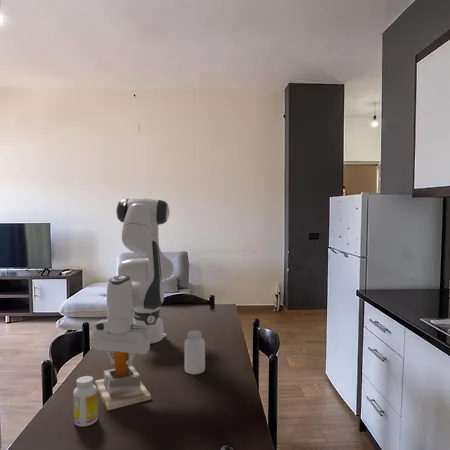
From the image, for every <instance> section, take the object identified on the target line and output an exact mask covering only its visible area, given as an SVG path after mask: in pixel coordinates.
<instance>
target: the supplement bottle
mask: <svg viewBox="0 0 450 450" xmlns="http://www.w3.org/2000/svg"><path fill="white" fill-rule="evenodd" d="M75 382H76V384H75V385H76V387H75V388H74V389H73V392H72V394H73V395H72V398H73V400H72V401H73V422H74V424H75V426H77V427H89V426H91V425H93V424H95V423H96V422H97V420H98V417H99V413H98V389H97V387H96V385H95V384H94V377H93V376H91V375H85V376H80V377H78V378H77V379H76V381H75Z"/></svg>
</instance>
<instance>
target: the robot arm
mask: <svg viewBox="0 0 450 450" xmlns="http://www.w3.org/2000/svg"><path fill="white" fill-rule="evenodd" d="M115 212H116V217H117V219H118V220H119V221H120V222H121V223H123V224H122V229H121V242H122V244H123V245H124V247H125V248H126V249H128V250H129V252H130V251H131V252H132V253H134V254H137V255H139V256H142V258H141V257H140V258H136V257H135V258H129V259H125V260H122V261H120V263H119V265H118V267H117V274H118V275H115V276H112V277H110V278H109V280H108V283H107V287H106V306H107V314H106V318H104V319H100V320H99V321H97V322H95V323H94V324H93V330H94V331H93V333H92V347H93V349H95V350H99V351H106V352H107V353H106V354H107V355H108V357H109V359H110V363H111V364H114V352H124V353H129V359H127V360H126V365H128V366H130V365H132V364H133V359H134V357H135V355H145V354H147V353H148V352H149V350H150V348H151V346H150V345H151V344H155V343H158V342H161V341H162V340H163V339H164V338H167V333H165V332H164V322H163V319H162V318H160V316H161V312H160V308H159V307H161V305H162V304H164V299H165V292H164V287H163V282H162V281H164V280H168V279H170V278H171V277H172V276H173V274H174V271H175V266H174V264H173V262H172V260H171V259H170V258H168V257H167V256H165V255H164V254H163V252H162V250H161V247H160V243H159V242H160V241H159V225H163V224H166V222H168V219H169V217H170V207H169V204H168V203H167V201H165V200H162V199H153V198H122V199H121V200H119V202H117V206H116V211H115ZM119 342H120V343H119ZM132 366H133V365H132Z"/></svg>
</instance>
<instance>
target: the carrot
mask: <svg viewBox="0 0 450 450" xmlns="http://www.w3.org/2000/svg"><path fill="white" fill-rule="evenodd" d="M119 343H120V342H119ZM113 353H114V363H113V364H114V369H115V370H116V374H117V376H118V378H123V377H126V374H127V370H128V366H129V365H126V360H127V359H129V358H130V356H129V353H124V352H115V351H114V352H113Z"/></svg>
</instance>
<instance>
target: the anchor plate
mask: <svg viewBox="0 0 450 450" xmlns="http://www.w3.org/2000/svg"><path fill="white" fill-rule="evenodd" d="M94 382H95V383H94V385H95V386H96V388H97V393H98V394H99V396H100V397H101V400H102V402H103V403H104V406H105V408H106V410H107V411H112V410H115V409H118V408H122V407H125V406H130V405H134V404H138V403H142V402H146V401H149V400H152V395H151V393H150V392H149V391H148V389H147V388H146V387H145V385H144V384H143V383H142V381H141V375H140V373H139V372H138V371H137V370H136V369H135V366H133V365H128V370H127V374H126V377H123V378H118V376H117V374H116V370H115V368H111V369H107V370H103V378H101V379H96V380H95V381H94Z"/></svg>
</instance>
